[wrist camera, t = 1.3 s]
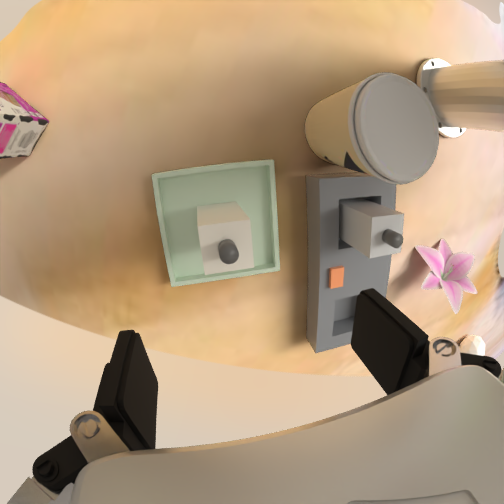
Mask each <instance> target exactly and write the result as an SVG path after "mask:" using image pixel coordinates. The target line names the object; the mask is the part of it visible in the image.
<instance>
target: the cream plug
mask: <svg viewBox="0 0 504 504" xmlns="http://www.w3.org/2000/svg"><path fill="white" fill-rule="evenodd" d="M197 226H198V233H199V240H200V247H201V254H202V260H203V266H204V273H205V275H208V274H215V273H222V272H228V271H235V270H241V269H248V268H254V258H253V246H252V234H251V222H250V218H249V217H248V216H247V215H246V213H245V212H244V211H243V210H242V208H241V207H240V206H239V205H238V203H237V202H236V201H233V202H225V203H217V204H210V205H203V206H197Z"/></svg>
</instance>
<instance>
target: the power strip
mask: <svg viewBox="0 0 504 504" xmlns="http://www.w3.org/2000/svg"><path fill="white" fill-rule="evenodd" d="M306 195H307V233H308V294H307V332H306V338H307V340H308V341H309V343H310V345H311V346H312V348H313V350H314V351H315V353H318V352H322V351H326V350H330V349H333V348H337V347H340V346H344V345H347V344H350V343H351V337H352V330H353V323H354V316H355V309H356V300H357V296H358V295H359V294H360V292H361V291H362V290H366V289H370V288H374V289H375V290H376V291H378V292H379V293H380V294H381V295H382V296H384V297H385V298H386V292H387V285H388V279H389V271H390V263H391V255H392V254H390V255H385V256H380V257H375V258H368V257H367V256H365V255H364V254H362V253H361V252H359V251H358V250H356V249H355V248H353V247H352V246H350V245H349V244H347V243H346V242H344V241H343V240H341V239H340V238H339V200H344V199H356V198H363V199H366V200H368V201H371V202H374V203H377V204H380V205H382V206H385V207H388V208H390V209H393V210H395V203H396V184H391V183H387V182H385V181H382V180H380V179H378V178H377V177H374V176H371V175H367V174H364V173H338V174H317V175H306Z"/></svg>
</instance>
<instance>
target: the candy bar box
mask: <svg viewBox="0 0 504 504" xmlns="http://www.w3.org/2000/svg"><path fill="white" fill-rule="evenodd" d="M48 123H49V121H48V120H47V119H46V118H45V117H44V116H42V115H41V114H40V113H39V112H38V111H36V110H35V109H34V108H33V107H31V106H30V105H29V104H28V103H27V102H26V101H24V100H23V99H22V98H21V97H20V96H19V95H17V94H16V93H15V92H14V91H13V90H12V89H11V88H9V87H8V86H7V85H6V84H5V83H1V82H0V159H1V158H10V157H22V156H30V154H31V152H32V151H33V149H34V147H35V145H36V143H37V141H38V140H39V138H40V136H41V135H42V133H43V132H44V130H45V128H46V127H47V125H48Z"/></svg>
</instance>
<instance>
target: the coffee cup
mask: <svg viewBox="0 0 504 504" xmlns="http://www.w3.org/2000/svg"><path fill="white" fill-rule="evenodd" d="M305 135H306V139H307V141H308V144H309V146H310V148H311V149H312V150H313V152H314V153H315V154H316V155H317V156H318V157H320V158H321V159H323V160H324V161H327V162H329V163H332V164H335V165H338V166H342V167H345V168H348V169H351V170H355V171H358V172H361V173H364V174H367V175H371V176H374V177H377V178H378V179H380V180H382V181H385V182H387V183H391V184H407V183H410V182H412V181H414V180H416V179H419V178H420V177H422V176H423V175H424V174H425V173H426V172H427V171H428V170H429V168H430V167H431V165H432V164H433V162H434V159H435V157H436V154H437V150H438V144H439V129H438V122H437V118H436V114H435V112H434V109H433V107H432V104H431V103H430V101H429V99H428V98H427V96H426V95H425V93H424V92H423V91H422V90H421V89H420V88H419V87H418V86H417V85H416V84H415V83H413V82H412V81H411V80H409V79H407V78H405V77H402V76H400V75H397V74H394V73H377V74H373V75H371V76H369V77H367V78H366V79H364V80H363V81H361V82H358V83H356V84H354V85H352V86H349V87H347V88H345V89H343V90H341V91H339V92H337V93H335V94H333V95H331V96H329V97H327V98H325V99H323V100H321V101H320V102H318V103H317V104H315V105H314V106H313V107H312V108H311V110H310V111H309V113H308V115H307V118H306V121H305Z"/></svg>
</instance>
